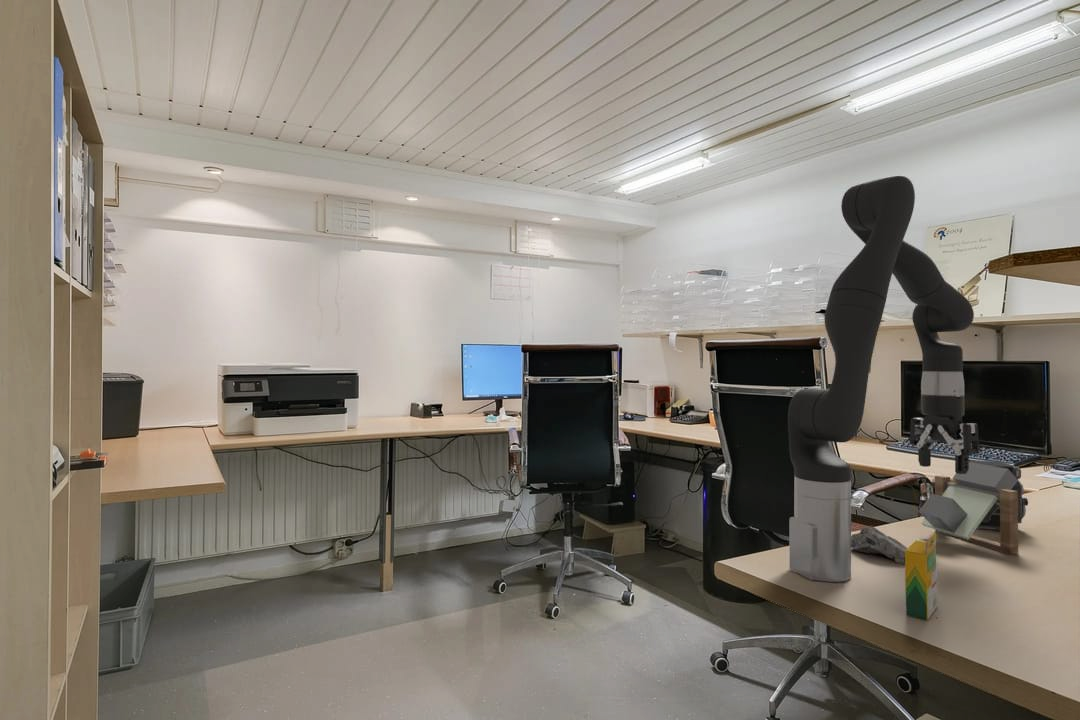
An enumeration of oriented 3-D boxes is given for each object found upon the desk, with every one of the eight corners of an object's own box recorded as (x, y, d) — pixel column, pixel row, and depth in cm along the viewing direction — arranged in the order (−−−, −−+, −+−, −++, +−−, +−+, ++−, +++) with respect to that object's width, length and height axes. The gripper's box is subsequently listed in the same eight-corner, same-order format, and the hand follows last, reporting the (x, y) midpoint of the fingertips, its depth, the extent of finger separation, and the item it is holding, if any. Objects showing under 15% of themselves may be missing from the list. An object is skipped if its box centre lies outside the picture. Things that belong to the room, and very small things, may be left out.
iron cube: (954, 533, 119) (939, 517, 119) (933, 526, 124) (918, 511, 124) (967, 514, 120) (952, 498, 120) (945, 508, 125) (931, 493, 124)
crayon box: (915, 601, 92) (915, 528, 92) (937, 606, 90) (937, 531, 90) (904, 615, 87) (904, 537, 87) (927, 621, 85) (927, 542, 85)
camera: (1032, 536, 128) (1032, 468, 128) (976, 531, 131) (975, 465, 132) (1011, 523, 138) (1011, 460, 138) (959, 519, 141) (959, 458, 141)
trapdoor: (978, 547, 116) (967, 535, 116) (924, 529, 129) (914, 519, 128) (1025, 481, 119) (1015, 470, 118) (968, 470, 131) (958, 460, 131)
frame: (1010, 554, 115) (1009, 491, 115) (935, 530, 132) (934, 475, 132) (1018, 553, 116) (1017, 491, 116) (942, 530, 132) (942, 475, 132)
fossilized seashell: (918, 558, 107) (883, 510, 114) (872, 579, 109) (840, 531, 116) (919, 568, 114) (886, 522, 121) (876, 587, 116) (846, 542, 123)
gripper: (899, 391, 128) (900, 464, 128) (958, 394, 115) (959, 476, 114) (928, 391, 130) (928, 463, 130) (989, 394, 116) (989, 475, 116)
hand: (942, 469), depth 122 cm, fingers open, 8 cm apart
